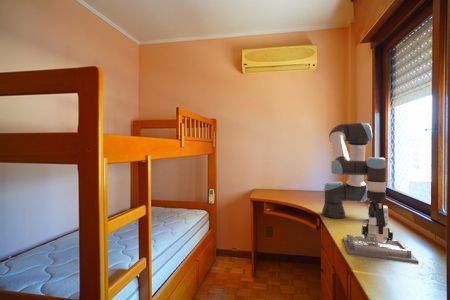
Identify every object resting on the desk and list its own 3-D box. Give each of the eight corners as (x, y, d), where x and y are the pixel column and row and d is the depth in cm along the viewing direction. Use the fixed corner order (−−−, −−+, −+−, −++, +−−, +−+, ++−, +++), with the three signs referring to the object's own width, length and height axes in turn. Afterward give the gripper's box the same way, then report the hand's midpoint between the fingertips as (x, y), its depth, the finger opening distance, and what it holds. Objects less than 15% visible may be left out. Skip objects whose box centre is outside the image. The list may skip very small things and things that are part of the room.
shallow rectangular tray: (346, 239, 121) (346, 234, 121) (401, 245, 113) (401, 240, 112) (350, 249, 109) (350, 243, 109) (411, 257, 101) (411, 251, 101)
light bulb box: (387, 222, 153) (387, 205, 153) (388, 225, 147) (388, 207, 147) (368, 219, 158) (368, 203, 158) (368, 222, 152) (368, 205, 152)
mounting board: (342, 238, 124) (342, 237, 124) (402, 245, 115) (402, 243, 115) (348, 253, 106) (348, 251, 106) (418, 263, 97) (418, 261, 97)
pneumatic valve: (359, 231, 118) (363, 221, 110) (387, 237, 114) (394, 227, 105) (359, 242, 115) (363, 232, 107) (387, 249, 110) (394, 239, 102)
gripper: (361, 186, 124) (361, 226, 124) (373, 194, 100) (373, 244, 100) (378, 186, 121) (378, 227, 121) (394, 195, 98) (394, 246, 98)
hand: (376, 235), depth 111 cm, fingers open, 13 cm apart
